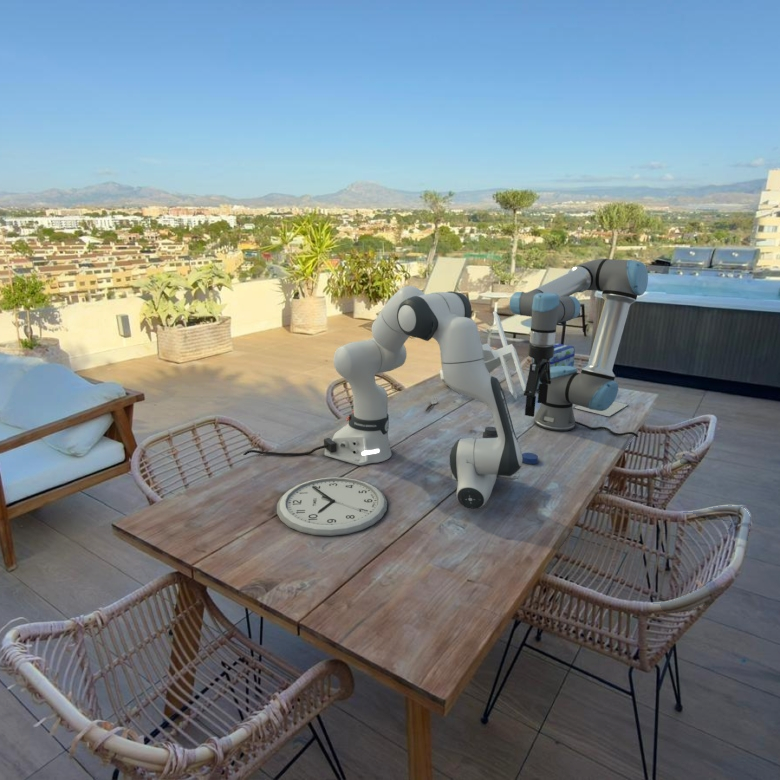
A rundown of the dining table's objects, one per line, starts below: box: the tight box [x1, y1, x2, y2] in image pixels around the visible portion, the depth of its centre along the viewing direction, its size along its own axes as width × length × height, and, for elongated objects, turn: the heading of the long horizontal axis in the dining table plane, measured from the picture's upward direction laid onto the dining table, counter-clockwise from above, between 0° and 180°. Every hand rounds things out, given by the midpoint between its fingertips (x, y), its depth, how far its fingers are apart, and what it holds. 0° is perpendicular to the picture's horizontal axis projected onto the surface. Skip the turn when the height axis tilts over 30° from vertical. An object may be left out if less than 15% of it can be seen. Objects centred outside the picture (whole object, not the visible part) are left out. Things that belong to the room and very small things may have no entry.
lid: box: [522, 452, 539, 465], centre depth 172 cm, size 5×5×2 cm
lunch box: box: [531, 343, 576, 391], centre depth 249 cm, size 26×11×21 cm, turn 134°
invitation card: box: [573, 401, 629, 418], centre depth 226 cm, size 21×1×15 cm
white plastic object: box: [438, 310, 527, 400], centre depth 245 cm, size 37×45×31 cm
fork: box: [425, 396, 439, 412], centre depth 222 cm, size 3×16×2 cm, turn 160°
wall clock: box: [276, 476, 388, 537], centre depth 142 cm, size 30×2×30 cm
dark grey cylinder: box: [482, 426, 498, 438], centre depth 160 cm, size 5×5×15 cm
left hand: (489, 454), depth 161 cm, fingers open, 6 cm apart
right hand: (535, 409), depth 167 cm, fingers open, 13 cm apart
